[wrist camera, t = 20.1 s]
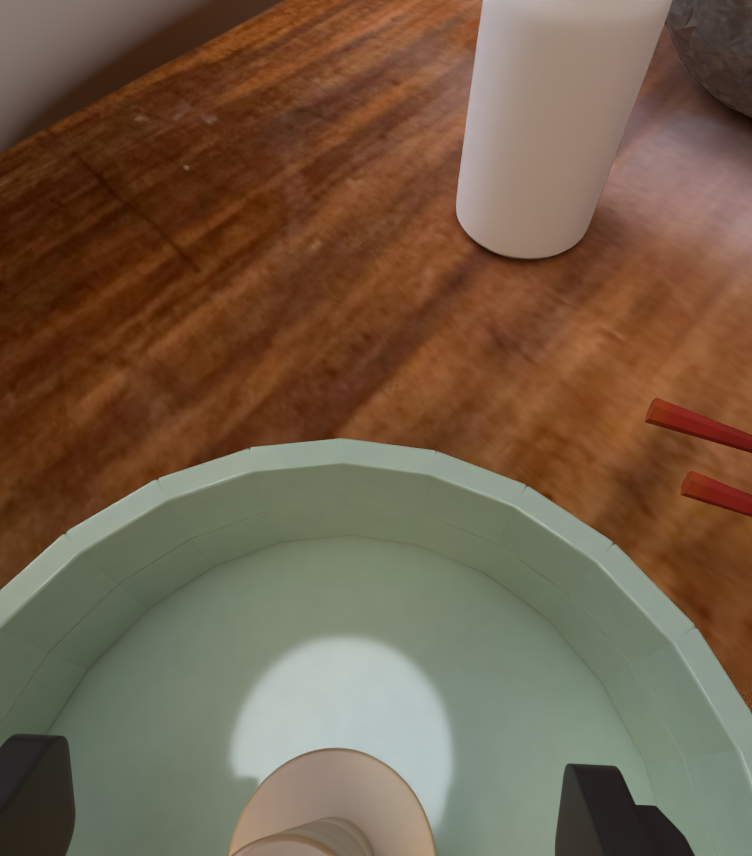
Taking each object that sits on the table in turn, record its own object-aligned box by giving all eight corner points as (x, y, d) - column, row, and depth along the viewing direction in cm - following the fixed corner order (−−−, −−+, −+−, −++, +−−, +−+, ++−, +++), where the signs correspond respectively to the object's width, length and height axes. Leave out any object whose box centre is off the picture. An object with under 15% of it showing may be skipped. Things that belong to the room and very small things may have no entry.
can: (538, 160, 33) (612, -133, 23) (615, 238, 30) (741, -59, 20) (430, 197, 31) (457, -98, 21) (500, 283, 28) (571, -12, 18)
